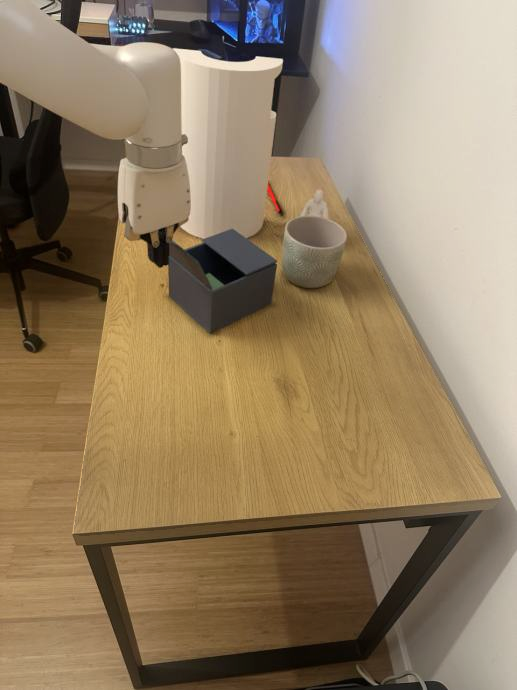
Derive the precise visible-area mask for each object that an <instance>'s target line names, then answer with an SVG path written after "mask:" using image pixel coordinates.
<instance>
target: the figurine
mask: <svg viewBox="0 0 517 690" xmlns="http://www.w3.org/2000/svg"><path fill="white" fill-rule="evenodd" d="M307 215H311V216H320V217H324V218H327V219H329V209H328V204H327V202H326V201H325V200H324V192H323V190H322V189H320V188H319V189H316V191H315V192H314V194H313V198H310V199H308V200H307V202H306V203H305V204H304V206H303V207H302V210H301V212H300V214H299V216H307Z"/></svg>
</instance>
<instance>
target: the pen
mask: <svg viewBox="0 0 517 690" xmlns="http://www.w3.org/2000/svg"><path fill="white" fill-rule="evenodd" d="M267 193H268V194H269V196H270V199H271V201H272V202H273V205H274V206H275V209H276V211H277V213H278V214H279V215H280V216H281V217H282V216H283V211H282V208H281V205H280V204H279V202H278V200H277V198H276V196H275V194H274V192H273V191H272V188H271V187H270V185H269V183H268V187H267Z"/></svg>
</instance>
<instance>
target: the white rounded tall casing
mask: <svg viewBox="0 0 517 690" xmlns="http://www.w3.org/2000/svg"><path fill="white" fill-rule="evenodd" d="M172 49H173V50H174V51H175V52H176V53H177V54H178V56H179V58H180V62H181V116H182V134H185V135H186V136H187V138H188V143H187V144H184V145H183V146H182V155H183V156H184V157H185V161H186V165H187V169H188V175H189V182H190V194H191V210H190V215H189V217H188V218H189V220H188V221H187V222H186V223H184V224H183V225H181V226H179V227H180V228H181V229H182V230H183V231H185V232H186V233H188V234H190V235H192V236H193V237H196V238H199V239H205V238H208V237H210V236H213V235H216V234H219V233H221V232H224V231H227V230H230V229H234V230H235V231H237V232H238V233H239V234H241V235H242V236H244V237H245V238H246V239H248V238H251V237H252V236H254V235H256V234H257V233H258V232H259V231H260V230H261V229H262V228H263V225H264V219H265V212H266V203H267V194H268V190H267V187H268V184H269V177H270V172H271V171H270V170H271V164H272V163H271V162H272V153H273V148H274V147H273V145H274V139H275V137H274V136H275V129H276V122H277V111H273V110H272V107H273V98H274V88H275V81H276V80H275V79H276V78H278V76H279V75H280V74H281V72H282V71H283V63H284V59H283V58H277V57H268V56H267V57H266V56H258V55H257V56H255V58H254V59H252V60H247V61H227V60H220V59H216V58H212V57H210V56H207V55H205V54H204V53H202V51H201V50H195V49H185V48H177V47H173V48H172Z"/></svg>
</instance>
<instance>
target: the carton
mask: <svg viewBox="0 0 517 690" xmlns="http://www.w3.org/2000/svg"><path fill="white" fill-rule="evenodd" d="M183 249H184V250H185V251H186V252H188V253H189V254H190V255H191V256H192V257H194V258H195V259H196V260H197V261H198V262H199V263H200V265H201V267H202V269H203V271H204V273H205V275H206V274H208V273H210V274H211V275H212V276H214V277H215V278H216V279H217V280H219V281H220V282H221V283H222V284H223V285H224V286H222V287H219V288H217V289H215V290H210V289H209V288H208V287H207V286H205V285H204V284H203V283H202V282H201V281H199V280H198V279H197V278H196V277H195V276H194V275H192V274H191V273H190V272H189V271H188V270H186V269H185V268H184V267H183V266H182V265H180V264H179V263H178V262H177V261H176V260H175V259H173V258H172V257H171V256H170V255H169V265H167V272H168V297H169V298H170V299H171V300H172V301H173V302H174V303H175V304H176V305H177V306H178V307H180V308H181V310H183V311H184V312H185V313H186V314H187V315H188V316H189V317H190V318H191V319H193V320H194V321H195V322H196V323H197V324H198V325H199V326H200V327H201V328H202V329H203V330H205V331H206V332H207V333H208V334H209V335H211V334H214V333H216V332H218V331H220V330H222V329H224V328H226V327H228V326H230V325H232V324H234V323H237V322H238V321H240V320H242V319H244V318H246V317H249V316H250V315H252V314H254V313H256V312H258V311H261V310H263V309H265V308H267V307H268V306H271V305H272V302H273V301H272V300H273V295H274V294H273V293H274V287H275V280H276V274H277V268H278V264H277V263H278V260H277V259H276V258H274V257H273V256H272V255H270V254H269V253H268V252H266V251H265V250H264V249H262V248H261V247H259V246H258V245H256V244H255V243H254V242H253V241H251V240H250V239H248V238H245V237H244V236H242V235H241V234H239V233H238V232H237V231H235V230H234V229H230V230H227V231H224V232H221V233H219V234H216V235H213V236H210V237H208V238H205V239H203V238H201V243H197V244H196V245H193V246H189V247H188V248H183Z"/></svg>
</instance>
